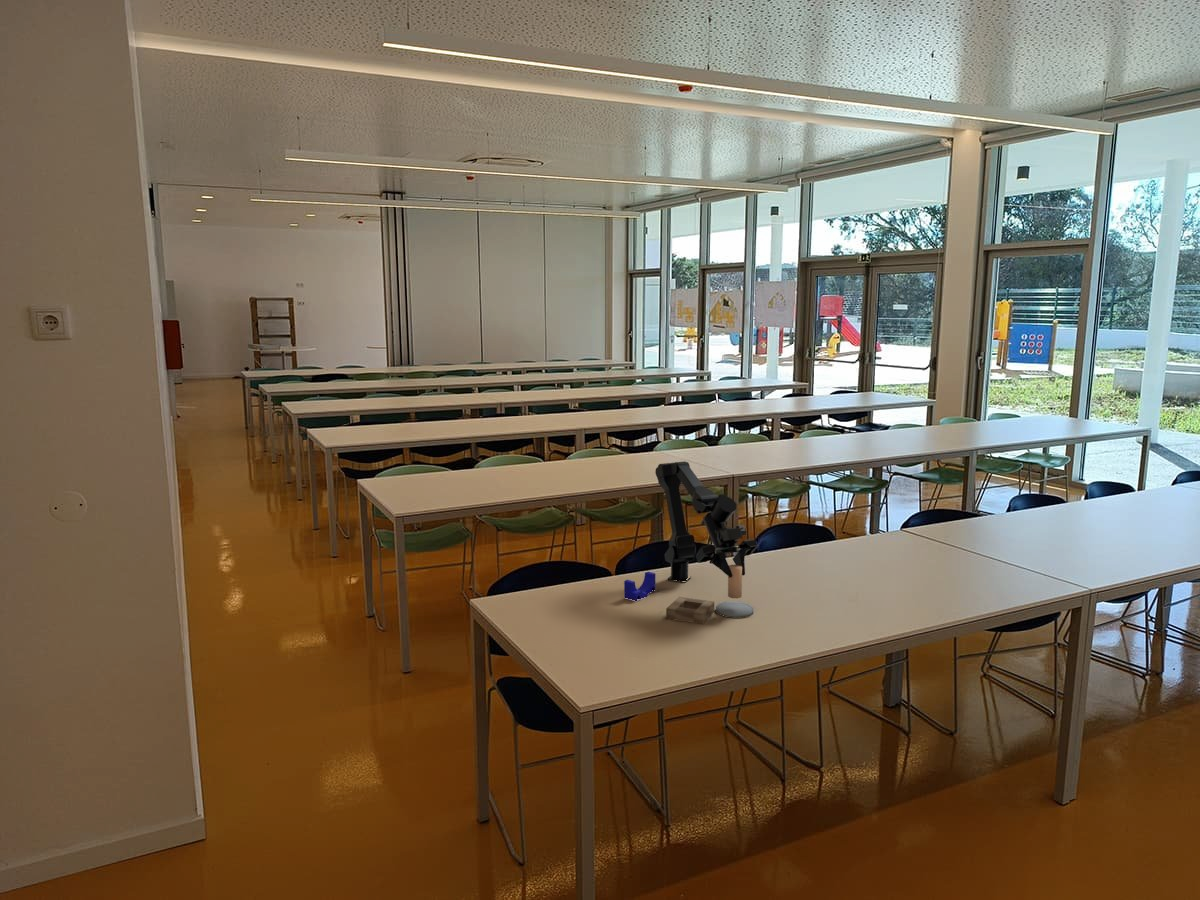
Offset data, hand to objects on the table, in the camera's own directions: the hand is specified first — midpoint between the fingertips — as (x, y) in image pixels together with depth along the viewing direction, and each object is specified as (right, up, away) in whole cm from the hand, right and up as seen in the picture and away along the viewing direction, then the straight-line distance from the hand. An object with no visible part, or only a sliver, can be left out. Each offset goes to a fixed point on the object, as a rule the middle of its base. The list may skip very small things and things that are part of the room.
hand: (737, 575), depth 238 cm
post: (0, -6, +2) cm, 7 cm away
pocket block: (-14, -11, 0) cm, 18 cm away
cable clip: (-27, -9, +18) cm, 34 cm away
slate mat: (0, -11, +3) cm, 11 cm away
